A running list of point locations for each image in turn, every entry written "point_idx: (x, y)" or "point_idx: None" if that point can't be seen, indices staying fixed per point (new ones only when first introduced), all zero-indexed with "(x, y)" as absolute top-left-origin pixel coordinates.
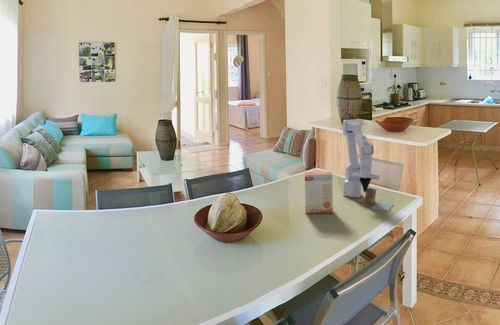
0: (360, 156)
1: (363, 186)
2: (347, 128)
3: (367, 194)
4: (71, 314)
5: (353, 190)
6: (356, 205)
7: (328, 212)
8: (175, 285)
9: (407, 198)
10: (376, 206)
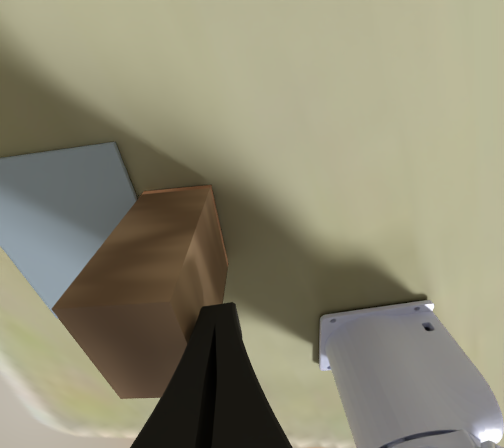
0: None
1: (230, 371)
2: None
3: (155, 262)
4: None
5: (382, 354)
6: (279, 169)
7: None
8: None
9: (85, 408)
10: (112, 220)
